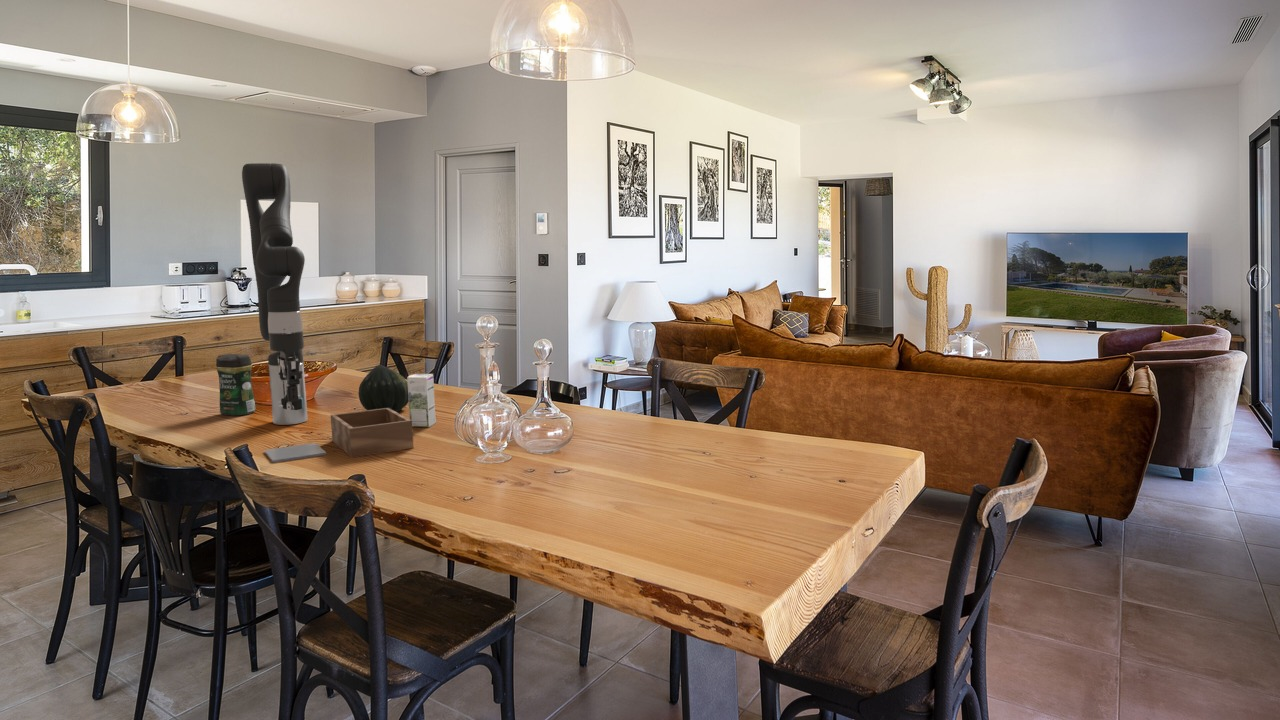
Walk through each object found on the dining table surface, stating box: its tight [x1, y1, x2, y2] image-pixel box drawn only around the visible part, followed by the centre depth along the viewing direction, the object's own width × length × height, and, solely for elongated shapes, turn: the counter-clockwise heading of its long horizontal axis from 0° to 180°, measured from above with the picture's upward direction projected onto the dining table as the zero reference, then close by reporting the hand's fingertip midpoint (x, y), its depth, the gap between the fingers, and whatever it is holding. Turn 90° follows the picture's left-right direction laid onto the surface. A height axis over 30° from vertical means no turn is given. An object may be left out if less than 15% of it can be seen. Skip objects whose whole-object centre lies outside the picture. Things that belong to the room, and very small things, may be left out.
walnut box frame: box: [330, 408, 414, 458], centre depth 202 cm, size 20×15×7 cm
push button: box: [278, 371, 304, 410], centre depth 192 cm, size 7×5×10 cm
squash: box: [358, 364, 409, 413], centre depth 244 cm, size 14×15×15 cm
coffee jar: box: [215, 353, 256, 417], centre depth 242 cm, size 10×8×19 cm
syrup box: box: [406, 373, 437, 428], centre depth 223 cm, size 6×6×14 cm
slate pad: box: [264, 442, 327, 464], centre depth 194 cm, size 12×12×1 cm
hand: (291, 399), depth 192 cm, fingers closed on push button, 5 cm apart
